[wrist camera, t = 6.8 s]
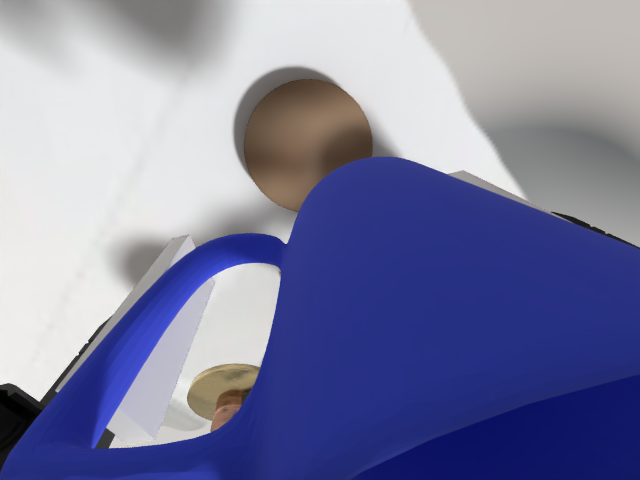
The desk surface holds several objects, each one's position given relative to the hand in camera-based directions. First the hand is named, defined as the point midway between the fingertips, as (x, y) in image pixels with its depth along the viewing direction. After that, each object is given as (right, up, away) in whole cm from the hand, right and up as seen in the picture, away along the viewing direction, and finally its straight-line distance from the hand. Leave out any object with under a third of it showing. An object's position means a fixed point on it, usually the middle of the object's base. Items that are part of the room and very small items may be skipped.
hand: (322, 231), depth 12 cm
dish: (-1, +8, +12) cm, 14 cm away
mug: (0, 0, +1) cm, 1 cm away
